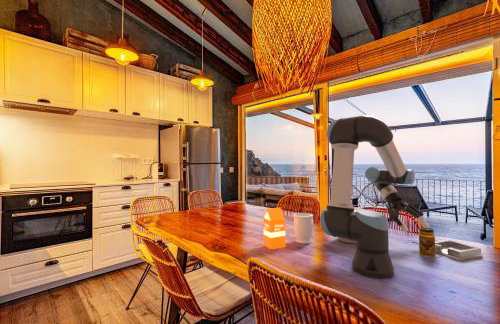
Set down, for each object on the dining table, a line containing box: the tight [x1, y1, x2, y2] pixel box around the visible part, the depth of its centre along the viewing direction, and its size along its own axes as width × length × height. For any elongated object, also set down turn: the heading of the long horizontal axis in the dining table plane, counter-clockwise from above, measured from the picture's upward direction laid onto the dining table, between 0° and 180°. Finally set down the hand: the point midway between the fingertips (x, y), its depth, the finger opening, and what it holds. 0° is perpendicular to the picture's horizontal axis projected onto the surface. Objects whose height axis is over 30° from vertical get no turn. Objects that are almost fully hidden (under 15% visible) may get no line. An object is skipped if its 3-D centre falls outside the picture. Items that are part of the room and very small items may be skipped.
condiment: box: [413, 227, 442, 258], centre depth 116 cm, size 7×8×12 cm
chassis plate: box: [435, 239, 484, 261], centre depth 116 cm, size 15×14×4 cm
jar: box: [293, 212, 314, 245], centre depth 137 cm, size 11×10×15 cm
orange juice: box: [263, 207, 286, 250], centre depth 130 cm, size 8×9×20 cm
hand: (417, 230), depth 121 cm, fingers open, 13 cm apart
